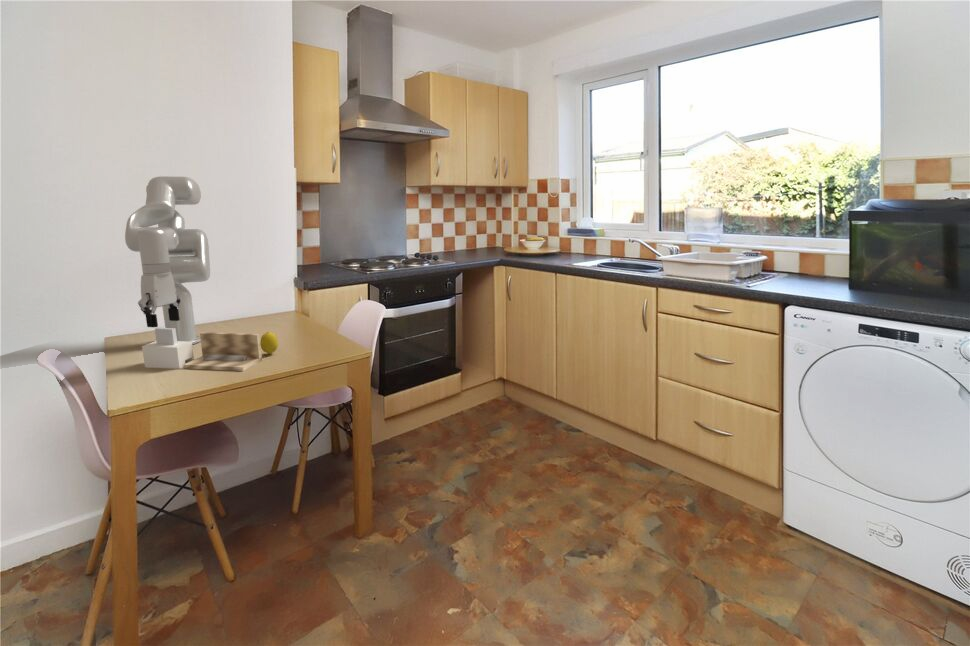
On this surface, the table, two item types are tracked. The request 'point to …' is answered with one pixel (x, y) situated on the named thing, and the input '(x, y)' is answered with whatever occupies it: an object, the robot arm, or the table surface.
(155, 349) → the white stepped block
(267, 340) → the lemon
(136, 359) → the table surface
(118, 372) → the table surface
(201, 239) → the robot arm
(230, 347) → the cleat board
